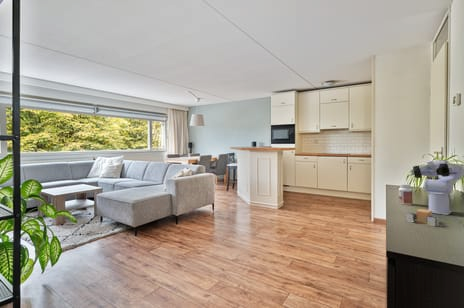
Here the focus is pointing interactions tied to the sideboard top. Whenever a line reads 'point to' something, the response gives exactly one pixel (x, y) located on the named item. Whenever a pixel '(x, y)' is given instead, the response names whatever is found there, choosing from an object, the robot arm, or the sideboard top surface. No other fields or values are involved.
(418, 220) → the orange block
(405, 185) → the pill bottle
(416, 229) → the sideboard top surface
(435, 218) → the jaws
